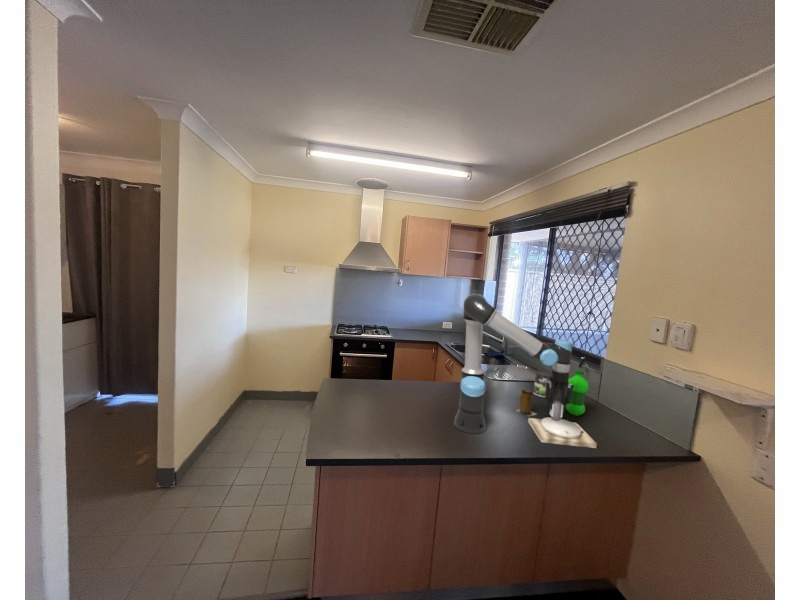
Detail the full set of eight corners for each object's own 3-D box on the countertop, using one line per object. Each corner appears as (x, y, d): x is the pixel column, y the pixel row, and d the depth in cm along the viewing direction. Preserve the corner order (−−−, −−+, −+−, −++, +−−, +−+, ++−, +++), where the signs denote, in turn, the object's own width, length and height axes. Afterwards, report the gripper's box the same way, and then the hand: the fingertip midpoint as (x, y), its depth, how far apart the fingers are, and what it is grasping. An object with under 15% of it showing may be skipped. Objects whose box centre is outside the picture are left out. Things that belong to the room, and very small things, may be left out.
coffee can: (551, 398, 196) (554, 376, 195) (534, 395, 199) (536, 374, 198) (549, 392, 206) (551, 372, 205) (532, 390, 209) (534, 369, 208)
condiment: (524, 408, 179) (526, 388, 178) (537, 414, 172) (539, 393, 171) (515, 410, 176) (517, 389, 175) (528, 417, 168) (530, 395, 167)
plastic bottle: (564, 414, 174) (569, 371, 171) (564, 407, 183) (569, 366, 181) (585, 419, 169) (590, 374, 167) (584, 412, 178) (589, 369, 176)
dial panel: (541, 442, 143) (542, 437, 143) (528, 421, 163) (528, 417, 162) (596, 448, 141) (597, 443, 140) (576, 426, 160) (576, 422, 160)
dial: (548, 436, 144) (551, 413, 143) (536, 419, 161) (538, 398, 160) (587, 440, 142) (590, 417, 141) (570, 422, 159) (573, 402, 158)
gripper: (546, 371, 152) (541, 417, 154) (581, 374, 151) (576, 421, 153) (540, 367, 160) (536, 411, 162) (574, 370, 158) (569, 414, 160)
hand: (555, 415), depth 157 cm, fingers closed on dial, 4 cm apart
